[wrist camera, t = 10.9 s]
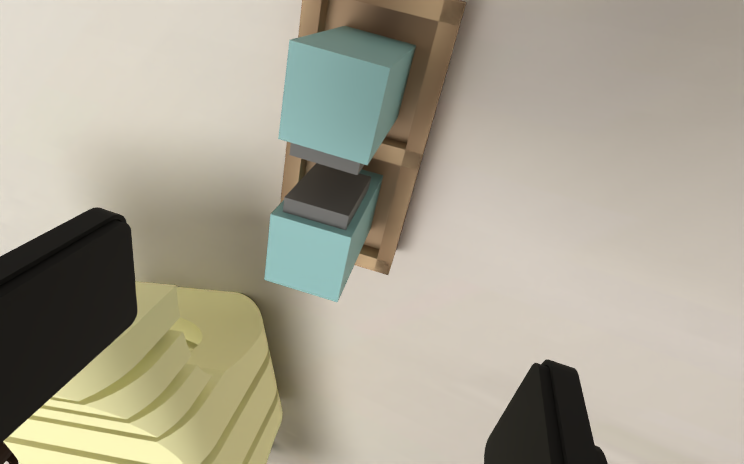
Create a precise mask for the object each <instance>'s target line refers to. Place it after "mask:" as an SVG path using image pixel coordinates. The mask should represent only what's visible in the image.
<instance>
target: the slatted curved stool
mask: <svg viewBox="0 0 744 464" xmlns="http://www.w3.org/2000/svg"><path fill="white" fill-rule="evenodd" d="M135 285H136V297H137V309H138V311H137V316H136V318H135V320H134V322H133V323H132V325H131V326H130V327H129V328H128V329H126V330H125V331H124V332H123V333H122V334H121V335H120V336H119V337H118V338H117V339H115V340H114V341H113V342H112V343H111V344H110V345H109V346H108V347H107V348H106V349H104V350H103V351H102V352H101V353H100V354H99V355H98V356H97V357H96V358H95V359H93V360H92V361H91V362H90V363H89V364H88V365H87V366H86V367H85V368H84V369H82V370H81V371H80V372H79V373H78V374H77V375H76V376H75V377H74V378H72V379H71V380H70V381H69V382H68V383H67V384H66V385H65V386H64V387H63V388H61V389H60V390H59V391H58V392H57V393H56V394H55V395H54V396H53V397H52V398H50V399H49V400H48V401H47V402H46V403H45V404H44V405H43V406H42V407H41V408H39V409H38V410H37V411H36V412H35V413H34V414H33V415H32V416H31V417H30V418H28V419H27V420H26V421H25V422H24V423H23V424H22V425H21V426H20V427H19V428H17V429H16V430H15V431H14V432H13V433H12V434H11V435H10V436H9V437H8V438H6V439H5V440H4V441H3V442H4V443H5V444H6V445H7V447H8V448H9V449H10V450H11V451H12V453H13V454H14V455H15V456H16V458H17V460H18V461H19V463H20V464H266V463H267V460H268V457H269V454H270V451H271V448H272V445H273V442H274V439H275V437H276V434H277V432H278V429H279V427H280V424H281V421H282V416H283V413H282V407H281V402H280V397H279V393H278V388H277V385H276V379H275V374H274V370H273V365H272V361H271V356H270V351H269V349H268V342H267V338H266V333H265V329H264V324H263V319H262V316H261V313H260V310H259V309H258V307H257V306H256V304H255V303H254V302H253V301H252V300H251V299H250V298H249V297H247V296H245V295H243V294H241V293H236V292H227V291H216V290H206V289H195V288H184V287H176V285H170V284H159V283H149V282H138V281H135Z"/></svg>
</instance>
